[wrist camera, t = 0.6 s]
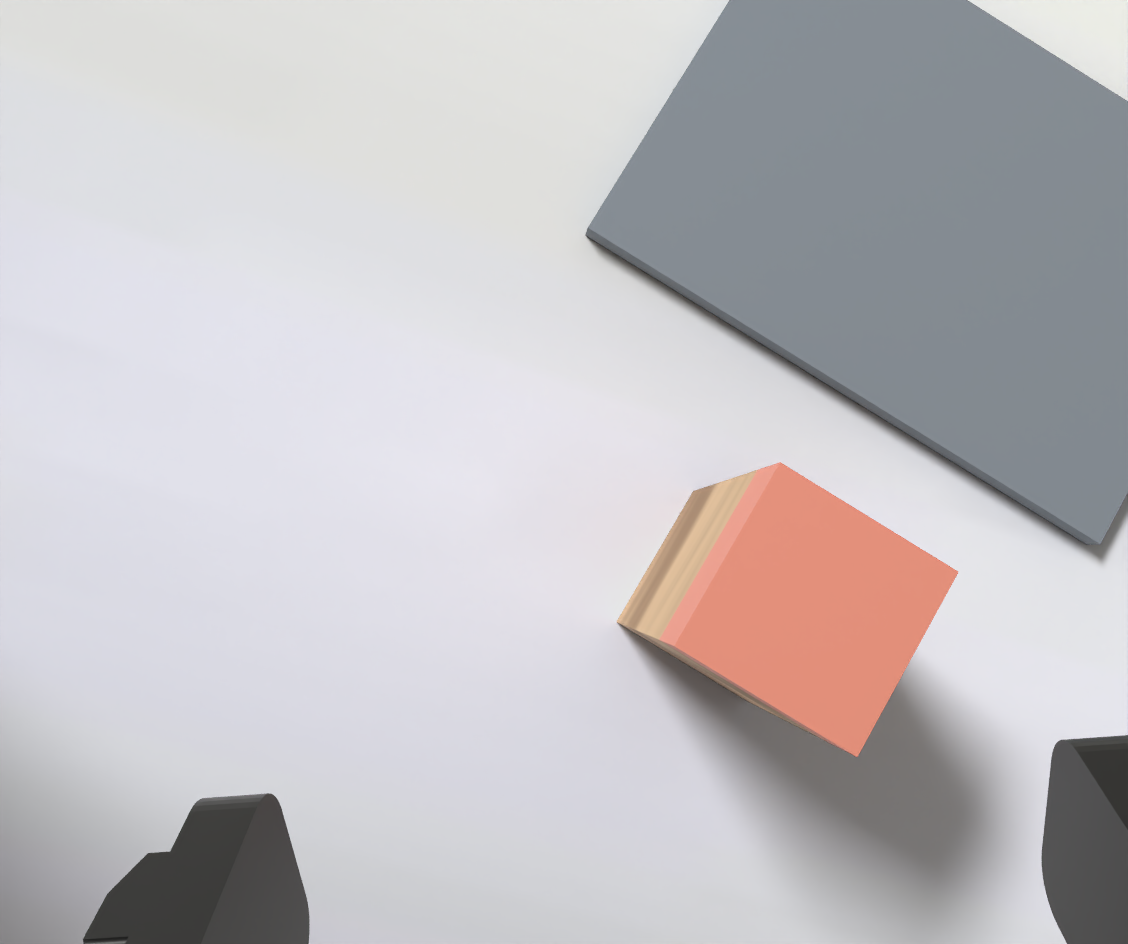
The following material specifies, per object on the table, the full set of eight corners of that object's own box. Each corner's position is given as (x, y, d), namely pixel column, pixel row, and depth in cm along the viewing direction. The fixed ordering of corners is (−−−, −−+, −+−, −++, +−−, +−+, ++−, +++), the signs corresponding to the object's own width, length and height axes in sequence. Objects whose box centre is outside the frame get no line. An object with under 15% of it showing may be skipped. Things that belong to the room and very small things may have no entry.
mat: (585, 235, 35) (587, 227, 34) (789, -93, 37) (796, -108, 36) (1086, 544, 36) (1100, 544, 35) (1265, 207, 37) (1283, 199, 36)
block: (616, 622, 34) (674, 646, 24) (693, 491, 35) (780, 462, 25) (746, 700, 34) (857, 757, 24) (820, 569, 35) (958, 571, 25)
